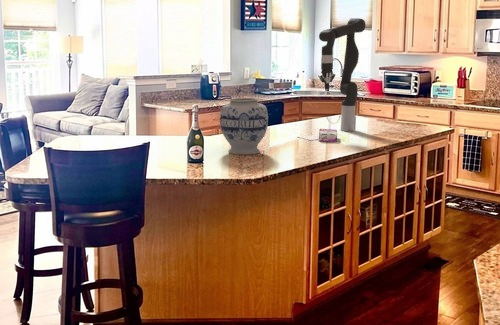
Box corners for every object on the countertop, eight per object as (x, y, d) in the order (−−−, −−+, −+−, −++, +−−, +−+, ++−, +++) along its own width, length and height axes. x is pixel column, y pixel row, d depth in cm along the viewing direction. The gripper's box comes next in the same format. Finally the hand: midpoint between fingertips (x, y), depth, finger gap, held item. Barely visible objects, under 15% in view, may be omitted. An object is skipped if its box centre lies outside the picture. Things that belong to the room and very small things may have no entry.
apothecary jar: (211, 154, 349) (211, 99, 342) (232, 146, 372) (232, 95, 366) (256, 158, 338) (256, 102, 332) (274, 149, 362) (275, 97, 356)
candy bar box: (319, 136, 405) (318, 141, 390) (319, 128, 404) (319, 133, 388) (336, 137, 404) (336, 142, 388) (337, 129, 403) (337, 134, 387)
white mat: (316, 135, 413) (316, 134, 413) (330, 138, 401) (330, 137, 401) (297, 137, 404) (297, 136, 404) (310, 140, 393) (310, 139, 393)
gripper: (331, 61, 412) (331, 87, 416) (315, 62, 405) (315, 89, 409) (338, 61, 406) (338, 88, 410) (322, 62, 399) (322, 90, 403)
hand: (326, 89), depth 409 cm, fingers closed
